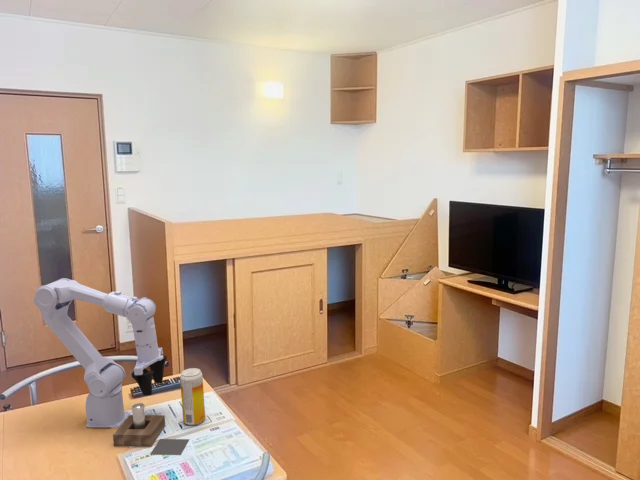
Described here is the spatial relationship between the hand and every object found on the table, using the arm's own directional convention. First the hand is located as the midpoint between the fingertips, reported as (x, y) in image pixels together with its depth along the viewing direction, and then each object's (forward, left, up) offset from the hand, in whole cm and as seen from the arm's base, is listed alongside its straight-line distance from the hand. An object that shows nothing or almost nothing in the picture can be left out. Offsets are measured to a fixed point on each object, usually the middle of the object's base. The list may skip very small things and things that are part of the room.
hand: (153, 388), depth 139 cm
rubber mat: (+8, -12, -10) cm, 18 cm away
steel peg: (-1, -7, -11) cm, 13 cm away
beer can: (+11, +1, -11) cm, 15 cm away
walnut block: (-2, -7, -10) cm, 13 cm away
